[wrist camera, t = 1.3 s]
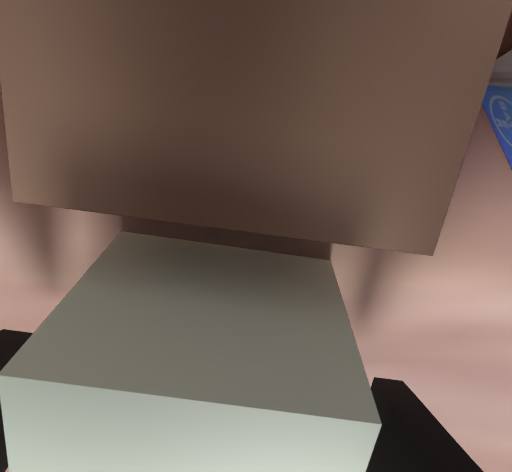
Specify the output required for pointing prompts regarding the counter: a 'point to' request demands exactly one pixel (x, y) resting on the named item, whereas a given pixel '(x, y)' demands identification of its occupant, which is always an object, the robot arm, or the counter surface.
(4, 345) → the robot arm
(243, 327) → the sage cube
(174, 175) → the walnut block
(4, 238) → the counter surface
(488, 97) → the medicine box
